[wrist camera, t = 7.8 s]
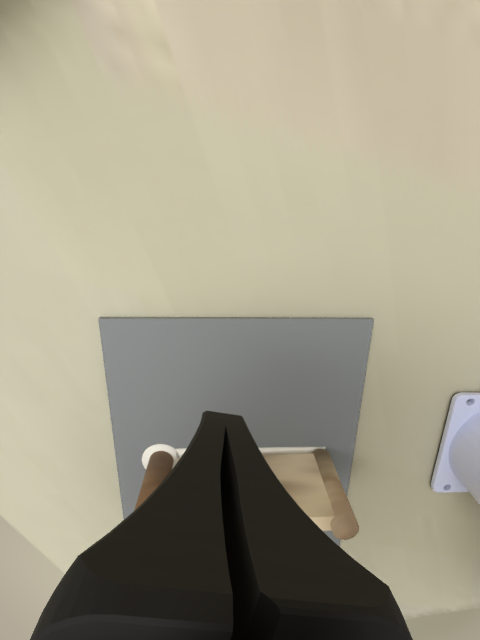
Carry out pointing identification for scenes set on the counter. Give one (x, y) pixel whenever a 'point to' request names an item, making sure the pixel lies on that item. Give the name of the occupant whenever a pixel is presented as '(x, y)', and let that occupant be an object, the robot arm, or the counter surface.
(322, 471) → the fence panel
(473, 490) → the robot arm
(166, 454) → the fence post and rail
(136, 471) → the mat
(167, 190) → the counter surface
